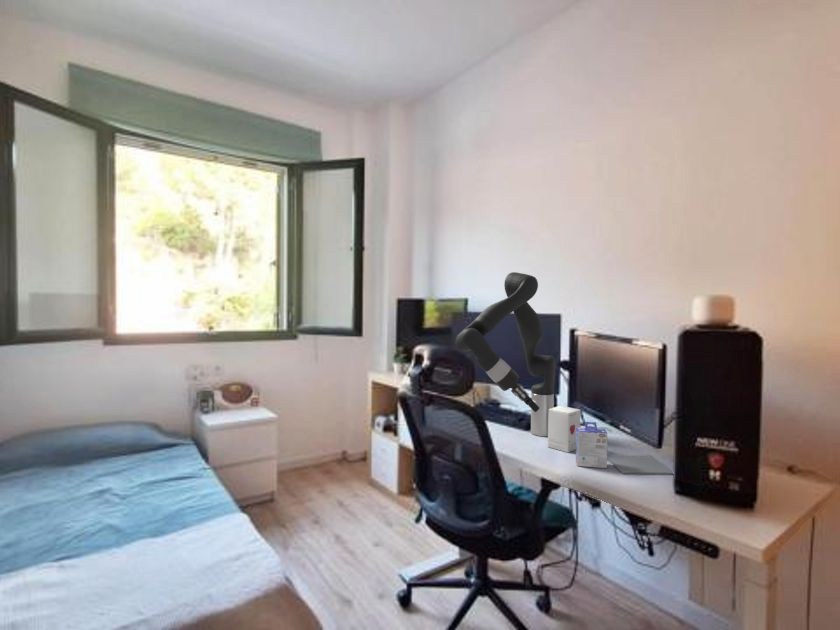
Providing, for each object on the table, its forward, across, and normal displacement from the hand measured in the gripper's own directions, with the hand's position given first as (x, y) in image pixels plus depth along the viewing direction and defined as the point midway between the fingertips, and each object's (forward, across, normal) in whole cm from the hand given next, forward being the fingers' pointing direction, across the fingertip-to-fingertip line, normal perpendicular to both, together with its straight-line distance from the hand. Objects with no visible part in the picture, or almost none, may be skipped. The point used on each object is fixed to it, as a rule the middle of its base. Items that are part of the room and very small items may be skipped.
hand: (537, 409), depth 157 cm
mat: (+38, 0, -11) cm, 40 cm away
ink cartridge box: (+27, 0, 0) cm, 27 cm away
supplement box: (+24, +18, +3) cm, 30 cm away
